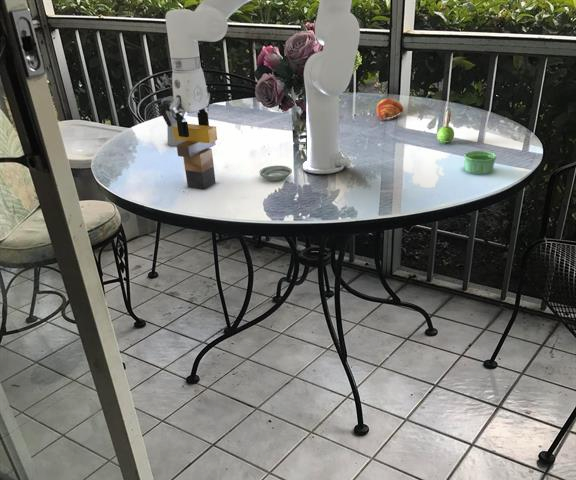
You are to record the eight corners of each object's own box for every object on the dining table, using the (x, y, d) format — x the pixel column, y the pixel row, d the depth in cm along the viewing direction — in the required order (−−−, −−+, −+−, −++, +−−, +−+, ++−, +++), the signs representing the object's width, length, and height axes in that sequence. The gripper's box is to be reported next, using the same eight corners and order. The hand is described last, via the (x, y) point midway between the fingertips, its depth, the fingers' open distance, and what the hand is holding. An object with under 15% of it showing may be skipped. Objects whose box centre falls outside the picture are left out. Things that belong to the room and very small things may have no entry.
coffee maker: (177, 137, 223) (169, 83, 212) (198, 138, 221) (191, 84, 210) (157, 149, 212) (147, 93, 201) (179, 150, 209) (171, 94, 199)
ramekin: (481, 163, 185) (484, 148, 182) (500, 172, 178) (503, 156, 175) (456, 168, 182) (458, 153, 180) (474, 177, 175) (476, 161, 173)
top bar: (217, 139, 171) (215, 126, 169) (209, 143, 169) (207, 130, 167) (182, 135, 176) (181, 123, 174) (174, 139, 173) (172, 126, 171)
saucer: (253, 179, 182) (252, 171, 181) (276, 171, 187) (276, 163, 186) (275, 186, 177) (275, 178, 175) (298, 177, 182) (298, 169, 180)
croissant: (388, 118, 245) (379, 98, 242) (411, 106, 239) (403, 86, 236) (374, 131, 229) (365, 110, 226) (398, 119, 223) (390, 97, 220)
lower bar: (204, 143, 180) (203, 132, 178) (215, 144, 178) (214, 134, 176) (178, 156, 171) (176, 145, 169) (189, 157, 169) (188, 146, 167)
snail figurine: (435, 146, 201) (439, 107, 194) (436, 140, 206) (440, 102, 199) (452, 146, 200) (457, 107, 193) (453, 141, 205) (457, 102, 197)
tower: (215, 183, 181) (211, 148, 175) (204, 189, 177) (199, 154, 171) (199, 180, 184) (194, 146, 177) (187, 187, 179) (182, 152, 173)
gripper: (177, 71, 153) (187, 141, 164) (215, 59, 165) (222, 125, 176) (154, 69, 156) (164, 138, 167) (193, 58, 168) (200, 123, 179)
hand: (194, 132), depth 171 cm, fingers open, 9 cm apart
